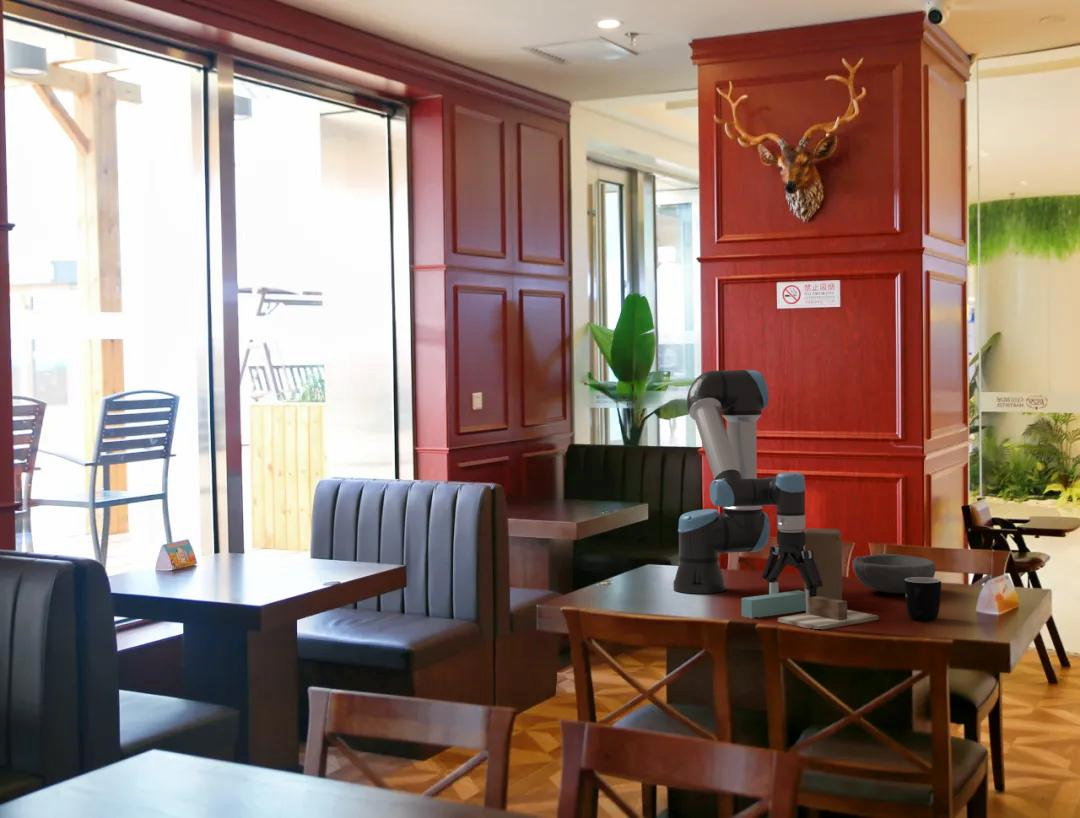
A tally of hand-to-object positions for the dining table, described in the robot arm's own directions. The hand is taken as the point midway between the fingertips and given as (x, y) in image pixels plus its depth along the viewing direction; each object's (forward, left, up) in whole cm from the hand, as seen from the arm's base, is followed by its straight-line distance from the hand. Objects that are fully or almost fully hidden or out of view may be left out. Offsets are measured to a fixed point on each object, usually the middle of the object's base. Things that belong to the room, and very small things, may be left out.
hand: (792, 609), depth 337 cm
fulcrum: (+16, -3, 0) cm, 16 cm away
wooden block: (-3, +15, 0) cm, 15 cm away
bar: (0, -6, 0) cm, 6 cm away
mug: (+30, +16, 0) cm, 34 cm away
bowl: (-1, +42, 0) cm, 42 cm away
